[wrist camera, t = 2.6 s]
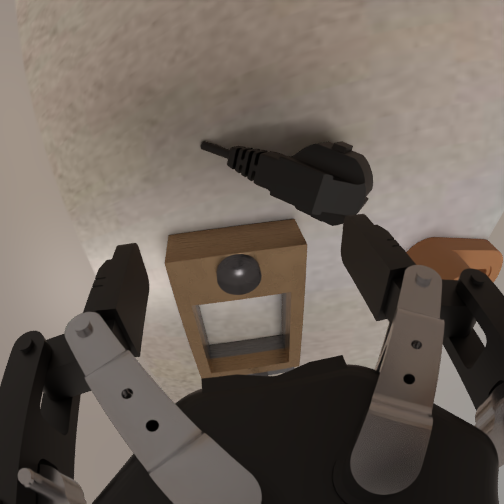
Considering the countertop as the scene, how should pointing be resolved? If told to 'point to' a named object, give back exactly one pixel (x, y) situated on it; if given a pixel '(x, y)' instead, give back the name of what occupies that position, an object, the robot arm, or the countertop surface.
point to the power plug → (307, 177)
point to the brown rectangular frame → (239, 285)
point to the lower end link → (249, 343)
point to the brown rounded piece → (457, 256)
